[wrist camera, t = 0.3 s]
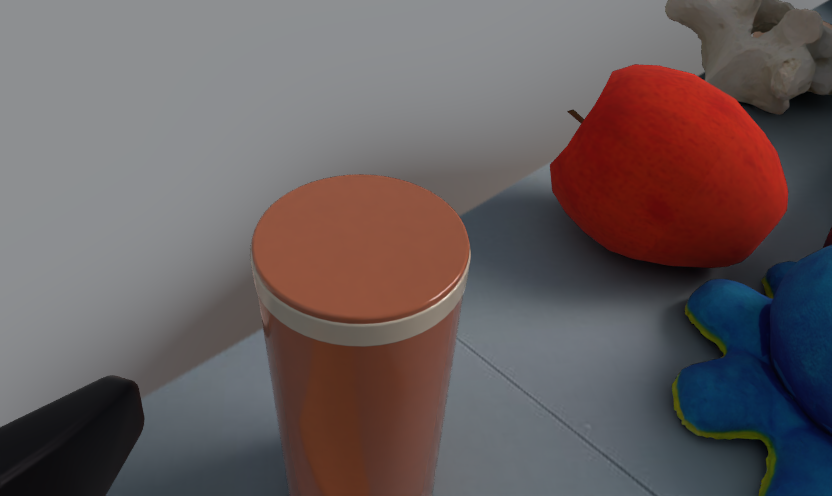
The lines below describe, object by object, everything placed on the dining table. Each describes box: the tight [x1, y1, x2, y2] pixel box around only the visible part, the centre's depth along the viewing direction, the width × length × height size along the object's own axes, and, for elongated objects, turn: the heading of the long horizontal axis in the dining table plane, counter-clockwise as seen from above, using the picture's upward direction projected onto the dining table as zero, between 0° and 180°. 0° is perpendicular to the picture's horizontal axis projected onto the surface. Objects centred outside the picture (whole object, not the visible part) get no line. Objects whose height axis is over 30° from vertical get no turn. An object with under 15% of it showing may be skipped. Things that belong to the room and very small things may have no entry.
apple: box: [550, 64, 788, 268], centre depth 34 cm, size 10×10×12 cm
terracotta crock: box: [250, 174, 471, 496], centre depth 21 cm, size 6×6×13 cm
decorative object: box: [665, 0, 832, 114], centre depth 49 cm, size 13×13×10 cm
